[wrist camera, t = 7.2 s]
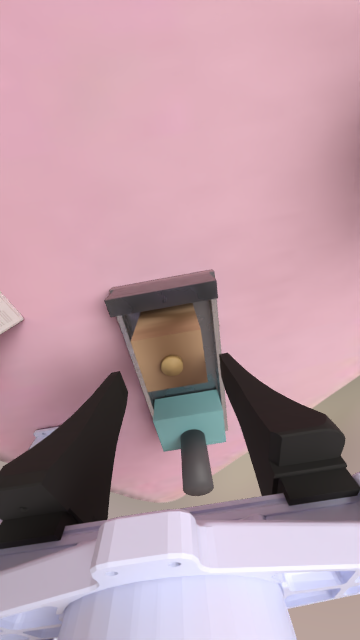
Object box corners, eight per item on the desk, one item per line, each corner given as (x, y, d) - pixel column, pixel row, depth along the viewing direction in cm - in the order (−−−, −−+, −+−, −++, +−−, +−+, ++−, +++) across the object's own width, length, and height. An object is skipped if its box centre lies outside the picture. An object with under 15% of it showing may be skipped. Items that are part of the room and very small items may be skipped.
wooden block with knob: (153, 349, 21) (147, 397, 15) (141, 308, 18) (129, 345, 13) (197, 342, 20) (209, 386, 15) (191, 300, 18) (201, 332, 12)
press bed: (159, 427, 28) (158, 456, 24) (112, 287, 18) (98, 301, 15) (225, 417, 28) (233, 444, 24) (211, 269, 18) (222, 279, 14)
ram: (164, 428, 26) (162, 503, 19) (154, 399, 24) (148, 473, 17) (220, 419, 26) (239, 492, 19) (216, 389, 23) (237, 459, 16)
